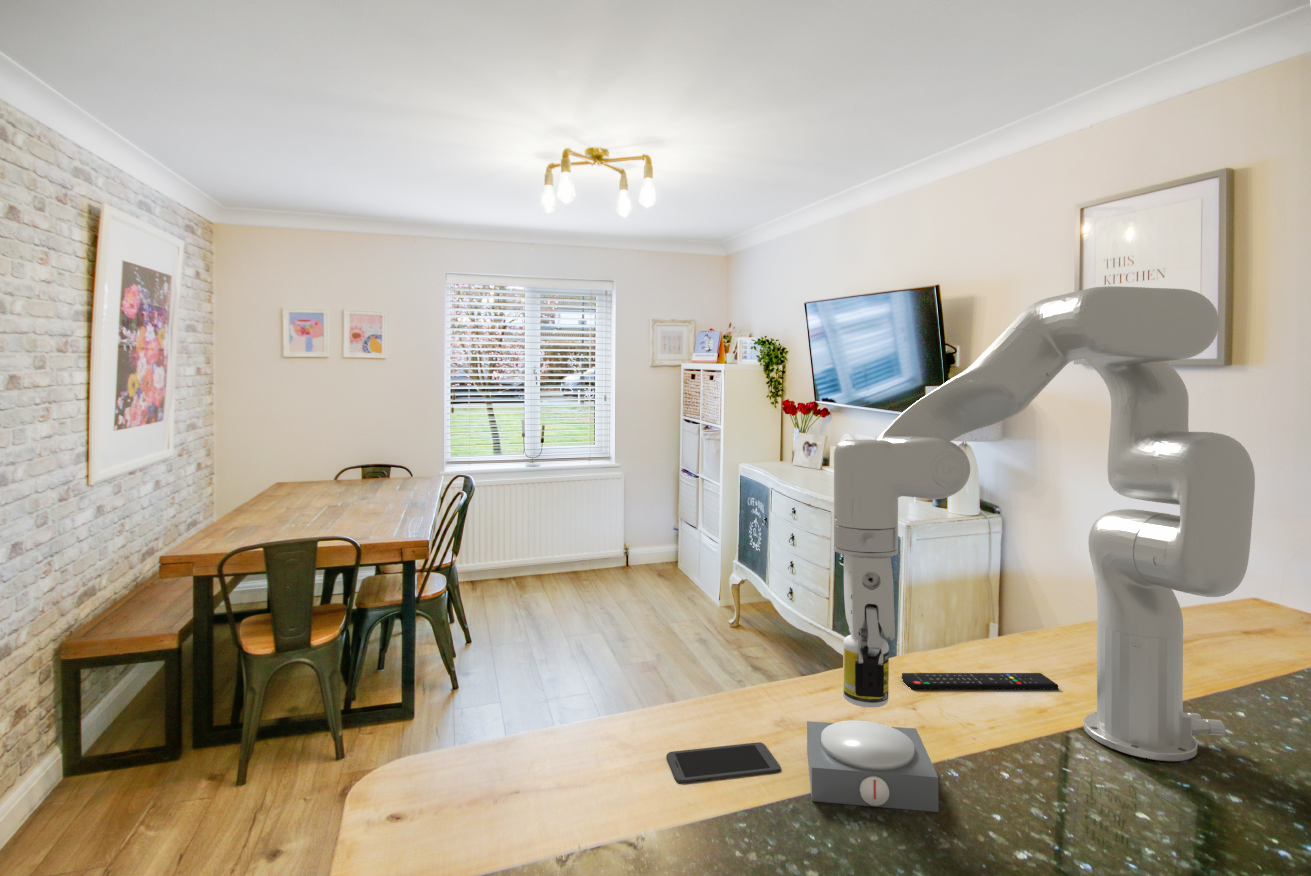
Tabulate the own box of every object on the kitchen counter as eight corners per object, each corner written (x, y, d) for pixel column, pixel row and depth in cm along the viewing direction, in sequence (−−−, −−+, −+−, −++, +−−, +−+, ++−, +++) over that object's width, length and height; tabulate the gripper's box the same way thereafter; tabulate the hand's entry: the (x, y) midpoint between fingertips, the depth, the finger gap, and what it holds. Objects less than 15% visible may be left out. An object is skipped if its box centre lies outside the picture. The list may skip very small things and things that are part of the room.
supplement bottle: (891, 710, 78) (891, 629, 78) (844, 707, 79) (844, 626, 79) (885, 692, 84) (885, 615, 83) (841, 689, 85) (841, 613, 84)
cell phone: (783, 774, 84) (783, 768, 84) (676, 787, 81) (676, 781, 81) (763, 746, 91) (763, 741, 91) (664, 757, 88) (664, 751, 88)
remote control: (1058, 693, 107) (1058, 684, 107) (909, 693, 108) (909, 684, 108) (1040, 680, 113) (1040, 672, 113) (898, 680, 113) (898, 672, 113)
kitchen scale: (916, 758, 86) (916, 722, 86) (939, 815, 74) (939, 773, 74) (807, 750, 89) (806, 715, 89) (812, 803, 76) (811, 763, 76)
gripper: (911, 554, 72) (911, 718, 72) (886, 529, 89) (886, 662, 89) (840, 552, 73) (841, 713, 74) (828, 528, 90) (829, 658, 90)
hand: (865, 683), depth 81 cm, fingers closed on supplement bottle, 5 cm apart
